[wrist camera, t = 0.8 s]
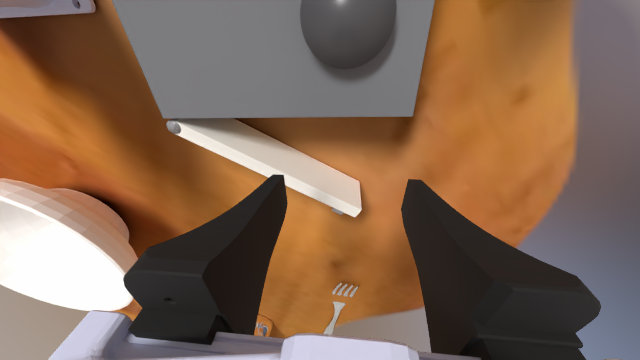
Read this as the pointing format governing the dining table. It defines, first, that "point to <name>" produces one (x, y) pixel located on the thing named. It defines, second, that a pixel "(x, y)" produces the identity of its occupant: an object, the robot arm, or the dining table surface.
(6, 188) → the bowl
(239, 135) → the door
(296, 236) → the dining table surface
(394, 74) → the camera housing
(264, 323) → the beer glass
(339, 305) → the fork
